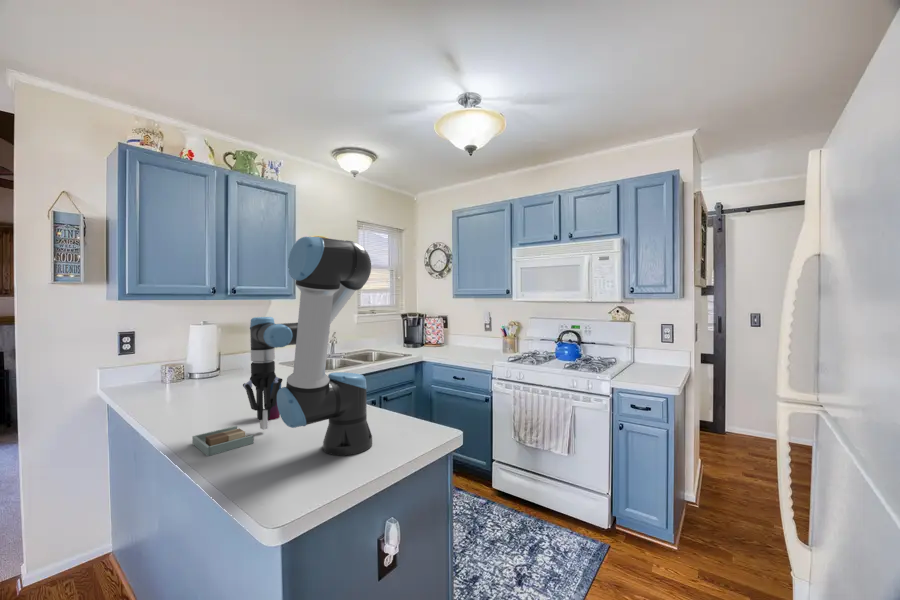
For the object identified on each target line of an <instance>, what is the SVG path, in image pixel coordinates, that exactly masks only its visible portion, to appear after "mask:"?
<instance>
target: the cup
mask: <svg viewBox="0 0 900 600" xmlns="http://www.w3.org/2000/svg"><path fill="white" fill-rule="evenodd" d="M273 384H274V381H273V383H272V384H271V390H270V398H271V393H272V389H273ZM280 388H282V383H281V384H280V387H279V389H280ZM263 394H264V390H263ZM279 418H281V416H280V413H279V410H278V406H277V401H276V405H275V406H273V407H271V410H270V418H268V421H269V420H270V421H272V420H277V419H279Z"/></svg>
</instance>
